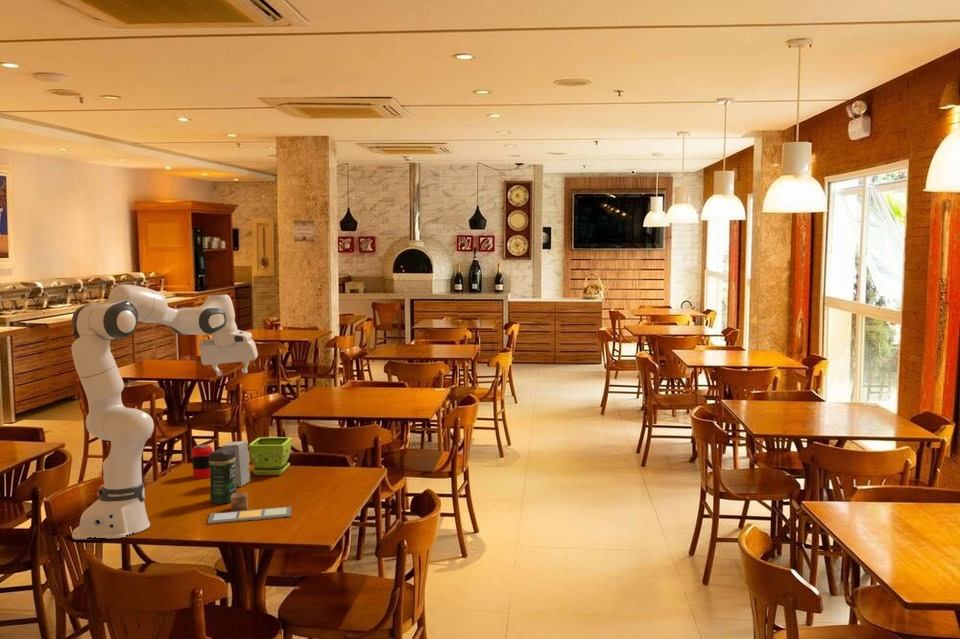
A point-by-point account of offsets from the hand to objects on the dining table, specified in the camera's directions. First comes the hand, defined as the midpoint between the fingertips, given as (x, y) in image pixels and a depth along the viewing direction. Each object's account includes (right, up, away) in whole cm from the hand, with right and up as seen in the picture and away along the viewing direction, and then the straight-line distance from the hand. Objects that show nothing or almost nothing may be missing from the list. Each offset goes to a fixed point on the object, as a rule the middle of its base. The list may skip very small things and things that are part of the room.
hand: (232, 374), depth 305 cm
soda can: (-18, -42, +23) cm, 51 cm away
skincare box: (-1, -42, +10) cm, 43 cm away
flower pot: (+8, -41, +26) cm, 49 cm away
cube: (+9, -44, -21) cm, 50 cm away
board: (+14, -45, -29) cm, 55 cm away
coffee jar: (0, -44, -11) cm, 45 cm away
